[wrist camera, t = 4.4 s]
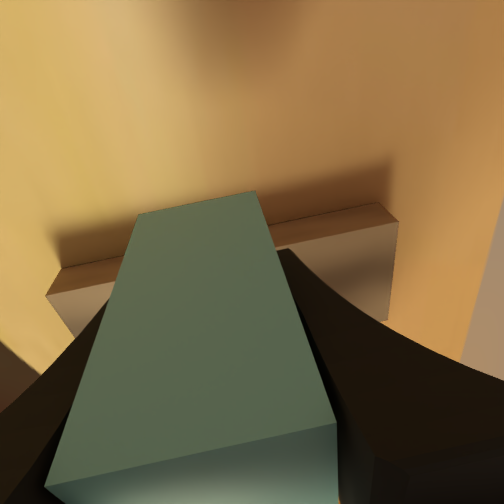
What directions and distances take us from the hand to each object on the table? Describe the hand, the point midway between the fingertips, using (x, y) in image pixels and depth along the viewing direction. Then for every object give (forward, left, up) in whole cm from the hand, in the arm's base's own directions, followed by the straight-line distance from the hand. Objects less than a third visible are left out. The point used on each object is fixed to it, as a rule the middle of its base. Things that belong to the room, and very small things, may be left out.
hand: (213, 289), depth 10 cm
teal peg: (0, 0, -2) cm, 2 cm away
